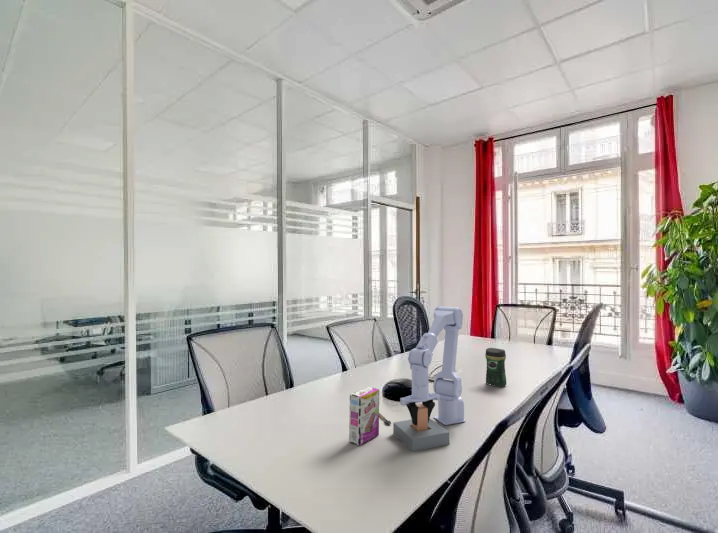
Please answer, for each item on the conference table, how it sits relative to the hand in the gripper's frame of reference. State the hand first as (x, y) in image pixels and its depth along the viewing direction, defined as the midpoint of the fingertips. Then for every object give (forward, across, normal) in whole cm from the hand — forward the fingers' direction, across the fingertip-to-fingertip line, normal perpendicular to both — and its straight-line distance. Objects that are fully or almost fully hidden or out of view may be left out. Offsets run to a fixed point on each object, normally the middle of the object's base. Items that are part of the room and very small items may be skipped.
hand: (420, 423), depth 126 cm
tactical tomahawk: (+6, +6, -24) cm, 26 cm away
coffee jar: (+6, -67, -39) cm, 78 cm away
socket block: (+5, 0, 0) cm, 5 cm away
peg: (+3, 0, 0) cm, 4 cm away
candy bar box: (+6, +18, -7) cm, 20 cm away
